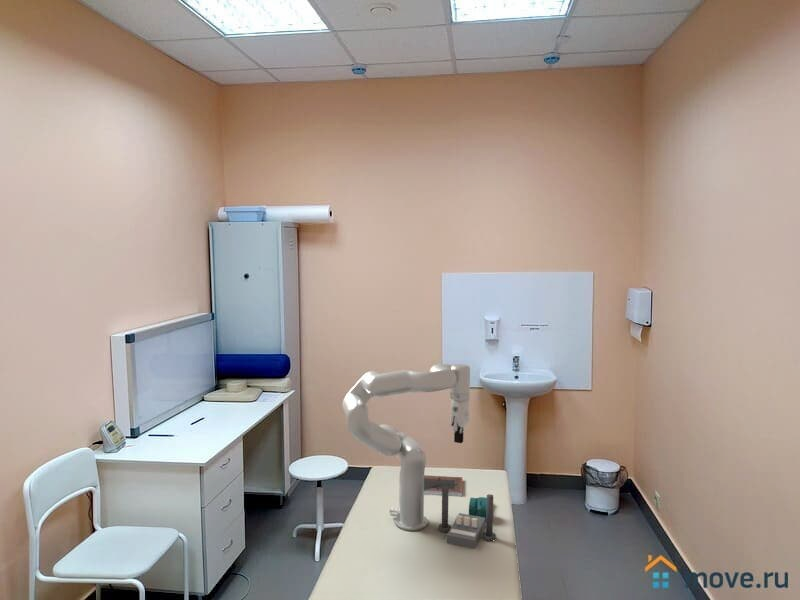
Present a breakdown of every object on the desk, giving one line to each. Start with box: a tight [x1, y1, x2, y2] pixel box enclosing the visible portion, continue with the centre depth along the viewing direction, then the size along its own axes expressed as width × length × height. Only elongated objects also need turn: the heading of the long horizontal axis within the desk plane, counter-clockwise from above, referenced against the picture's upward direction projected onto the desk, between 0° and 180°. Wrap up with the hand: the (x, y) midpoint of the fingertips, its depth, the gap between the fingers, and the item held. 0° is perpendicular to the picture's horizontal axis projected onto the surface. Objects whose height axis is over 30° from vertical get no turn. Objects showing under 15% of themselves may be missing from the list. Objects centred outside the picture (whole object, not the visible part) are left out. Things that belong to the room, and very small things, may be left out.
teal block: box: [468, 496, 487, 524], centre depth 227 cm, size 18×7×8 cm, turn 163°
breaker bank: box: [455, 514, 478, 528], centre depth 209 cm, size 8×1×3 cm, turn 69°
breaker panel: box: [446, 512, 486, 549], centre depth 209 cm, size 10×18×3 cm, turn 159°
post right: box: [481, 493, 497, 542], centre depth 205 cm, size 5×5×16 cm
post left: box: [437, 487, 452, 534], centre depth 211 cm, size 5×5×16 cm
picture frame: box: [424, 474, 463, 497], centre depth 250 cm, size 16×2×22 cm
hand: (458, 442), depth 219 cm, fingers closed
